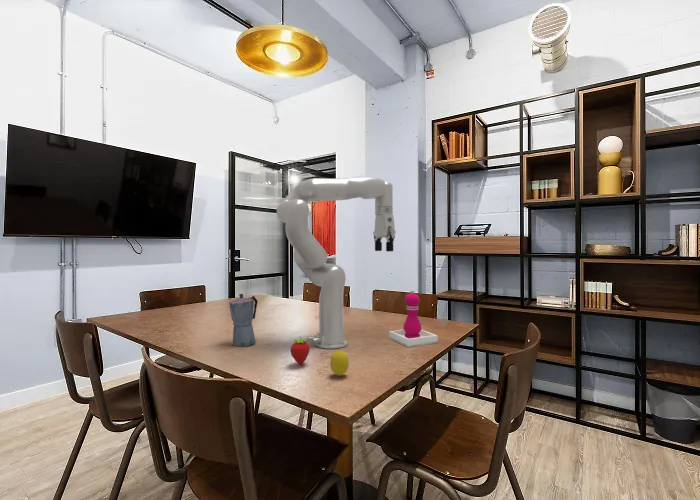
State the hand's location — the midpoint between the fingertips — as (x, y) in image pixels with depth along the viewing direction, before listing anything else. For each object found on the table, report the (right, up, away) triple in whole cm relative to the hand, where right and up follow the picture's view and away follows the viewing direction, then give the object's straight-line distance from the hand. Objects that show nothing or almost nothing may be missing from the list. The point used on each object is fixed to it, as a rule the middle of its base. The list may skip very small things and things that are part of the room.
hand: (383, 251), depth 153 cm
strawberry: (-31, -37, -37) cm, 61 cm away
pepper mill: (+11, -36, -9) cm, 38 cm away
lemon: (-18, -38, -47) cm, 63 cm away
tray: (+11, -36, -9) cm, 39 cm away
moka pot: (-57, -37, -12) cm, 69 cm away
